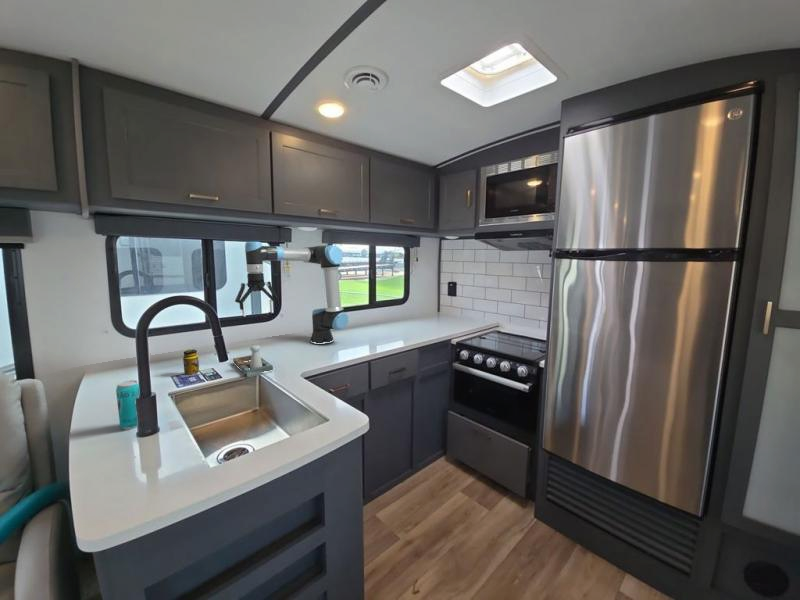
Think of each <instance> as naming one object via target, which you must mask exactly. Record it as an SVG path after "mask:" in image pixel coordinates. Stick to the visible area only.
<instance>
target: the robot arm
mask: <svg viewBox="0 0 800 600" xmlns="http://www.w3.org/2000/svg"><path fill="white" fill-rule="evenodd" d="M244 252H245V263H246V272H247V283H244V282H241V284H240V288H239V291H238V294H237V295H236V298H235V300H234V302H235V303H237V304H239V310H241V313H242V317H246V316H247V313H246V305H245V304H246V303H245V301H246V300H247V298H248V297H249V296H250V295H251V294H252V292H261V291H262V292H263V293H264V294H265V295H266V296H267V298H269V312H270V313H271V314H274V307H275V304H276V303H275V302H276V300H277V299H279V296H278V295H277V292H276V291H275V289H274V287H273V286H272V283H271V281H265V277H264V275H265V274H264V261H265V262H266V261H269V262H270V261H271V262H272V261H278V262H279V261H281V262H284V261H286V262H289V261H291V262H295V261H296V262H303V263H305V264H306V263H310V264H317V265H320V268H321V269H322V270H323V276H324V277H323V278H324V285H325V295H326V303H327V304H326V305H327V307H325V308H316V309H313V310H312V313H311V314H312V315H311V316H312V322H311V323H312V333H311V337H310V342H311V341H312V342H316V343H323V342H330V341H332V340H333V341H334V337H333V334H332V331H331V330H333V331H341V330H344V329H345V328H346V327H347V325H348V322H349V316H348V314H347V313H345V310H344V307H343V306H342V304H341V301H342V300H341V292H340V291H341V290H340V282H339V268H340V267H341V265H340V264H341V263H342V261H343V258H344V257H343V252H342V250H341V249H340V248H339V247H338V246H336V245H333V244H332V245H331V244H330V245H316V246H305V247H302V248H294V247H282V246H277V245H266V246H265V245H262V242H261V241H246V242H245V243H244ZM265 286H266V287H267V289H268V290H269V291H270V292H269V291H268V290H267V289H266V288H265ZM247 287H248V289H247V290H246V292H245V289H246V288H247ZM244 292H245V293H244ZM270 293H271V294H270Z"/></svg>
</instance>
